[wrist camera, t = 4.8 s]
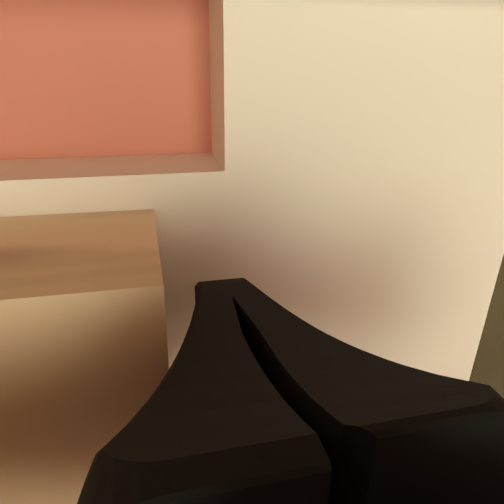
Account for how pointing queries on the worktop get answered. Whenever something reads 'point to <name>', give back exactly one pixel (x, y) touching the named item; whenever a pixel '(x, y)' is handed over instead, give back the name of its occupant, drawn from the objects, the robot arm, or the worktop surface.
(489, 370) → the worktop surface
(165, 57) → the trap box
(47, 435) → the maple block
